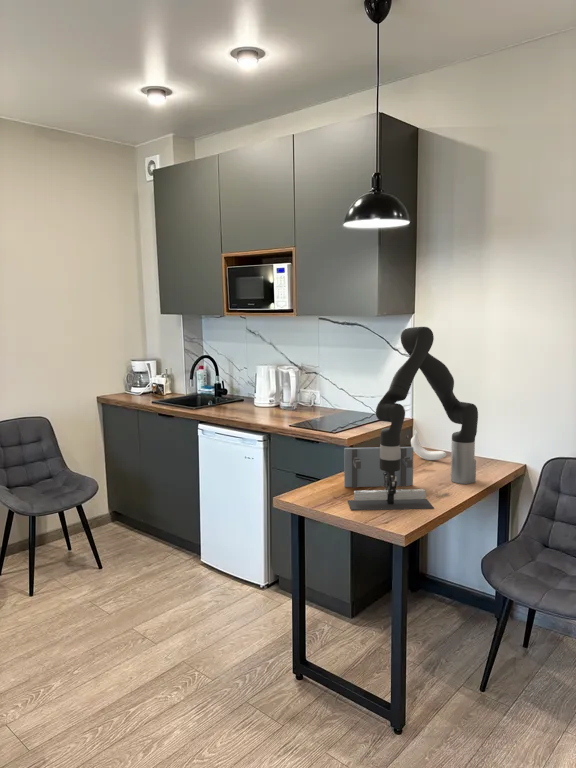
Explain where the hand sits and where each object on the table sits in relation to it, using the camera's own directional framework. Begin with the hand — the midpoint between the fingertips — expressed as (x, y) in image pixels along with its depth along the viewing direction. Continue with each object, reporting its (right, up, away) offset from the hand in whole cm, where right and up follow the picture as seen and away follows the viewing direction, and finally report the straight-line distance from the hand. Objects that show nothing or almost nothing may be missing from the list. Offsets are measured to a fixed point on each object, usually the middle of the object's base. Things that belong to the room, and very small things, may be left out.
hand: (389, 502), depth 212 cm
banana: (+30, +7, +63) cm, 70 cm away
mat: (0, -1, 0) cm, 1 cm away
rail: (0, +1, 0) cm, 1 cm away
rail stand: (0, +1, +18) cm, 18 cm away
